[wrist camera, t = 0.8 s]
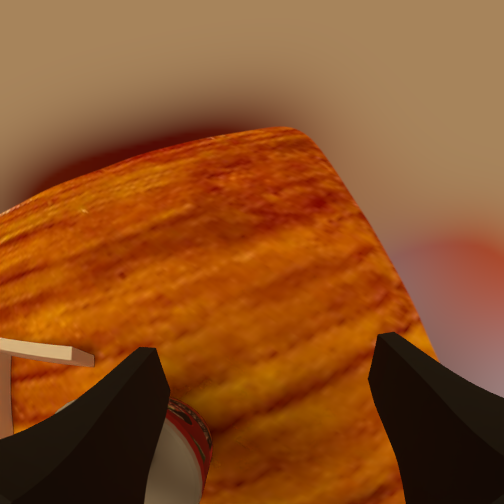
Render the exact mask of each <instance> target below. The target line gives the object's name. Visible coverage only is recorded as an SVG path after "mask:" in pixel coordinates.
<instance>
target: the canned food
mask: <svg viewBox="0 0 504 504" xmlns="http://www.w3.org/2000/svg"><path fill="white" fill-rule="evenodd" d="M76 400H77V399H76ZM74 401H75V400H73V401H71V402H68V403H67V404H66V405H64V406H63V407H62V408H60V409H59V410H58V411H57V412H59V411H61V410H62V409H64V408H65V407H67V406H68V405H70V404H71V403H72V402H74ZM57 412H56V413H57ZM56 413H55V414H56ZM212 449H213V444H212V436H211V433H210V431H209V428H208V426H207V424H206V423H205V421H204V419H203V418H202V417H201V416H200V415H199V414H198V412H197V411H195V410H194V409H193V408H192V407H190V406H189V405H187V404H185V403H183V402H182V401H180V400H177V399H174V398H171V397H169V402H168V408H167V413H166V418H165V421H164V424H163V427H162V431H161V434H160V437H159V440H158V443H157V447H156V450H155V453H154V456H153V460H152V463H151V466H150V470H149V475H148V480H147V486H146V493H145V501H144V504H199V502H200V499H201V497H202V493H203V490H204V487H205V482H206V478H207V474H208V470H209V465H210V461H211V457H212Z"/></svg>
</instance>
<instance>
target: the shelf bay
mask: <svg viewBox="0 0 504 504" xmlns="http://www.w3.org/2000/svg"><path fill="white" fill-rule="evenodd" d="M11 356H16V357H21V358H27V359H33V360H39V361H46V362H53V363H60V364H68V365H78V366H88V367H94V355H91V354H89V353H86V352H84V351H81V350H79V349H76V348H74V347H70V346H59V345H49V344H40V343H32V342H25V341H18V340H11V339H5V338H0V439H2V438H5V437H8V436H11V435H14V434H13V425H12V412H11Z"/></svg>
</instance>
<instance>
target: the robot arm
mask: <svg viewBox="0 0 504 504" xmlns="http://www.w3.org/2000/svg"><path fill="white" fill-rule="evenodd" d="M368 381H369V385H370V389H371V393H372V396H373V400H374V403H375V406H376V408H377V411H378V413H379V416H380V418H381V421H382V423H383V426H384V428H385V430H386V433H387V435H388V438H389V440H390V443H391V445H392V448H393V450H394V453H395V456H396V459H397V462H398V466H399V470H400V475H401V479H402V484H403V489H404V495H405V501H406V504H504V398H503V397H500V396H498V395H495V394H493V393H491V392H489V391H487V390H485V389H483V388H480V387H478V386H476V385H474V384H473V383H471V382H469V381H467V380H466V379H464V378H462V377H460V376H459V375H457V374H455V373H454V372H452V371H451V370H449V369H448V368H446V367H444V366H443V365H442V364H440V363H439V362H437V361H436V360H434V359H433V358H431V357H430V356H428V355H427V354H426V353H424V352H423V351H421V350H420V349H419V348H417V347H416V346H414V345H413V344H411V343H410V342H409V341H407V340H406V339H404V338H403V337H401V336H400V335H398V334H397V333H395V332H390V333H384V334H378V336H377V341H376V346H375V350H374V355H373V359H372V364H371V368H370V372H369V376H368ZM169 396H170V388H169V385H168V383H167V380H166V377H165V374H164V371H163V368H162V365H161V362H160V359H159V356H158V353H157V350H156V348H148V347H139V348H138V349H136V350H135V351H134V352H133V353H131V354H130V355H129V356H128V357H127V358H126V359H125V360H123V361H122V362H121V363H120V364H119V365H118V366H117V367H115V368H114V369H113V370H112V371H111V372H110V373H109V374H107V375H106V376H105V377H104V378H103V379H102V380H100V381H99V382H98V383H97V384H96V385H94V386H93V387H92V388H91V389H89V390H88V391H87V392H85V393H84V394H83V395H82V396H80V397H79V398H78V399H77V400H75V401H74V402H72V403H71V404H70V405H68V406H67V407H65V408H64V409H62V410H61V411H59V412H57V413H56V414H54V415H53V416H51V417H49V418H48V419H46V420H44V421H42V422H40V423H38V424H36V425H34V426H32V427H30V428H28V429H26V430H24V431H21V432H19V433H16V434H14V435H11V436H8V437H5V438H2V439H0V504H144V501H145V493H146V486H147V480H148V475H149V470H150V466H151V463H152V460H153V456H154V453H155V450H156V447H157V443H158V440H159V437H160V434H161V431H162V427H163V424H164V421H165V418H166V413H167V408H168V402H169Z"/></svg>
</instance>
